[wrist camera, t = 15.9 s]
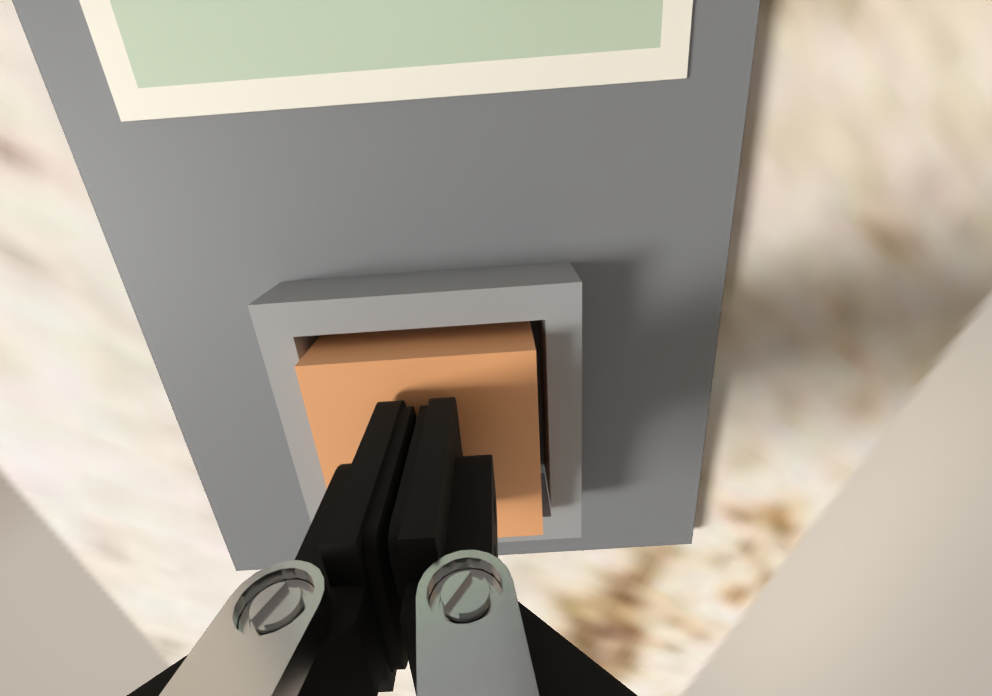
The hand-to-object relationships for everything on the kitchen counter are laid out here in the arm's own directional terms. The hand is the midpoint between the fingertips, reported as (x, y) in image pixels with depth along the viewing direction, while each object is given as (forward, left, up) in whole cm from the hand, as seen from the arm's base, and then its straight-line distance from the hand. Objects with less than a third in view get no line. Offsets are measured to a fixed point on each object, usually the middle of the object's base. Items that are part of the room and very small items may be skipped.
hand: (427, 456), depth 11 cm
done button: (0, 0, -3) cm, 3 cm away
